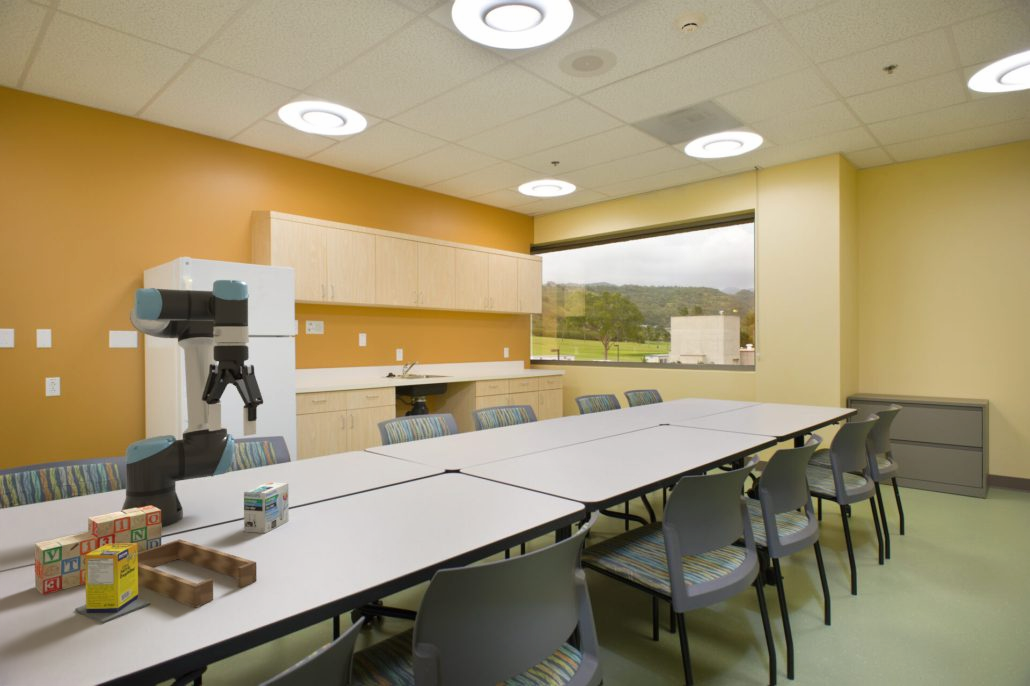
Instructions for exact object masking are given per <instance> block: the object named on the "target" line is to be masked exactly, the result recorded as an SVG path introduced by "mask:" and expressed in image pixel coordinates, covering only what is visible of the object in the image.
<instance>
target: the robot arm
mask: <svg viewBox="0 0 1030 686" xmlns="http://www.w3.org/2000/svg"><path fill="white" fill-rule="evenodd" d="M249 297H250V296H249V291H248V283H246V282H245V281H242V280H237V279H217V280H215V281H213V284H212V290H211V291H210V290H187V289H185V290H184V289H183V290H182V289H166V288H165V289H164V288H155V287H149V288H137V289H136V290H135V291H134V306H133V307H132V309H131V310H130V313H129V320H130V323H131V324H132V326H133V328H134V329H136V330H137V331H138V332H140V333H142V334H144V335H148V336H151V337H155V338H161V339H177V345H178V346H179V347H180V348H182V349H183V350H184V370H185V390H186V410H187V428H186V429H185V430H184V431H183V432H182V439H176V437H175V436H174V435H173V434H172V435H171V434H167V435H159V436H153V437H147V438H143V439H141V440H138V441H134V442H132V443H130V444H129V445H128V446H127V447H126V450H125V460H124V464H125V500H124V502H123V505H122V508H121V510H120V511H122V510H127V509H132V508H140V507H145V506H150V505H152V506H154V507H156V508H158V509H160V510H161V523H162V528H163V527H165V526H169V525H172V524H174V523H178V522H179V521H181V520H182V519H183V518H184V509H183V506H182V503H181V502H180V499H179V496H178V494H177V491H176V482H179V481H186V480H193V479H201V478H208V477H209V478H210V477H211V478H212V477H214V476H221V475H224V474H227V473H228V472H229V471H230V469H231V467H232V465H233V461H234V454H235V440H234V439H235V437H234V435H233V434H231V433H228V428H227V427H226V426H224V425H223V424H222V402H221V398H222V396H223V394H224V392H225V390H226V388H227V386H228V385H229V384H231V385H233V386H235V388H236V390H237V391H238V394H239V396H240V397H241V399H242V401H243V403H244V405H243V409H242V410H243V415H242V416H243V421H242V423H243V437H247V436H251V435H252V436H253V435H257V418H258V416H257V413H258V412H257V410H258V409H257V408H258V407H259V406H260V405H263V404H264V400H263V396H262V392H261V390H260V386H259V384H258V380H257V377H256V374H255V366H254V365H253V364H245V361H248V360H249V357H250V356H249V353H250V352H249V346H248V345H247V344H248V343H249V342H250V341H249V340H250V339H249Z"/></svg>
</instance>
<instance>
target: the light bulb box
mask: <svg viewBox="0 0 1030 686" xmlns="http://www.w3.org/2000/svg"><path fill="white" fill-rule="evenodd" d="M289 505H290V504H289V483H287V482H286V483H285V482H272V481H268V482H266V483H262V484H260V485H258V486H256V487H253V488H251V489H247V490H246V491H244V492H243V524H244V525H243V532H248V533H259V534H266V533H268V532H270V531H272V530H274V529H276V528H278V527H280V526H282V525H283V524H286V523H287V522H289V520H290V519H289V517H290V516H289V515H290V514H289V510H290V508H289Z"/></svg>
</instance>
